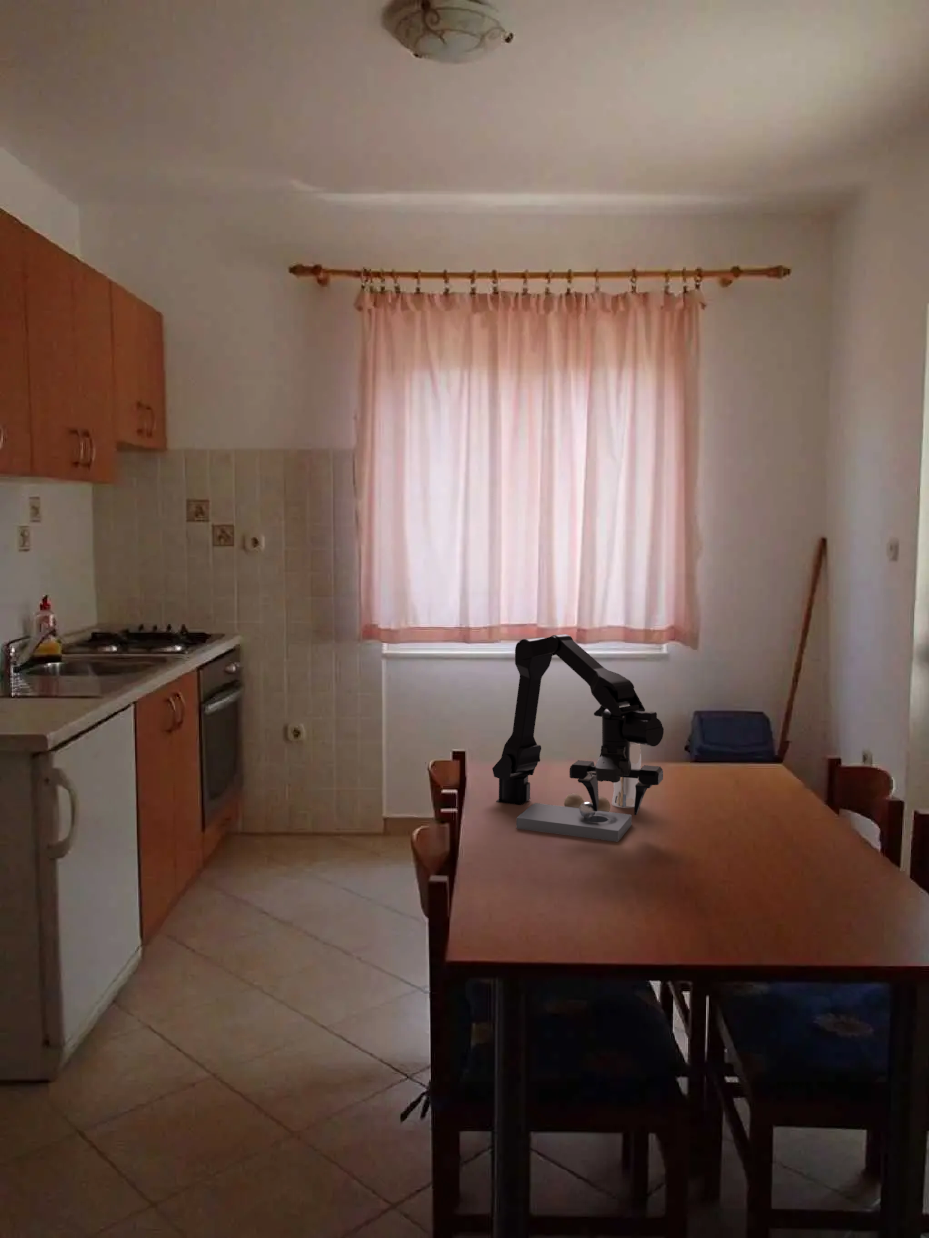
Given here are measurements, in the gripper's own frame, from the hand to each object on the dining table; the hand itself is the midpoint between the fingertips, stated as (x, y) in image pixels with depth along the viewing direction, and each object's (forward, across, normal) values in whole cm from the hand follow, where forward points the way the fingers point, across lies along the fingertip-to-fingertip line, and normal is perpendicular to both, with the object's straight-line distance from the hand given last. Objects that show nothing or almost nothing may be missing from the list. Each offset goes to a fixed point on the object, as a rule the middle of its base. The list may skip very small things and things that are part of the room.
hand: (616, 812), depth 196 cm
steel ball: (0, -6, 0) cm, 6 cm away
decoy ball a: (+2, -12, +10) cm, 16 cm away
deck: (+4, -9, 0) cm, 10 cm away
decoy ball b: (+2, -6, +10) cm, 12 cm away
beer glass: (+4, -3, +21) cm, 22 cm away
